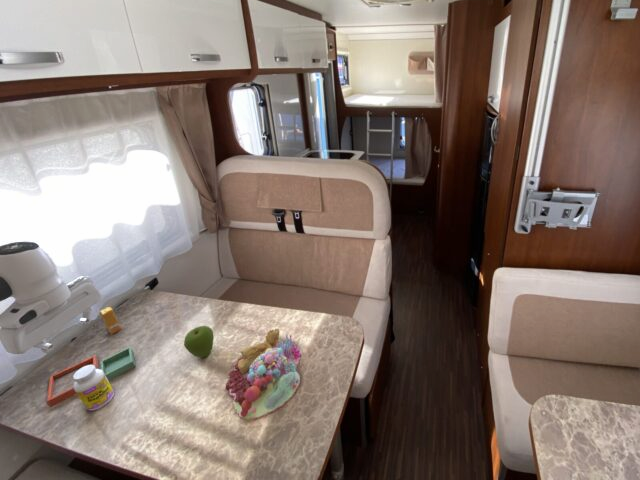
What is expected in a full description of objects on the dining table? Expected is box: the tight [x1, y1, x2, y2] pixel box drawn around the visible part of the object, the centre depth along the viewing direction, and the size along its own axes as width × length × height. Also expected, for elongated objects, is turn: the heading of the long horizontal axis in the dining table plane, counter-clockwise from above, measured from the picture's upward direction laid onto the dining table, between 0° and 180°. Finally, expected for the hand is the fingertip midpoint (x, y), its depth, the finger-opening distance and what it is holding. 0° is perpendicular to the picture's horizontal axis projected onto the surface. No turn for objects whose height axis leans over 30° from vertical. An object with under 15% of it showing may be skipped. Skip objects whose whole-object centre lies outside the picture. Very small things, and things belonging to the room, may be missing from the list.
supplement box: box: [99, 306, 122, 335], centre depth 117 cm, size 3×3×10 cm
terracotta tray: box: [46, 355, 100, 408], centre depth 99 cm, size 11×11×3 cm
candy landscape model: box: [225, 327, 302, 421], centre depth 96 cm, size 25×24×9 cm
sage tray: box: [100, 346, 136, 382], centre depth 103 cm, size 8×8×3 cm
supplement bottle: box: [72, 365, 115, 412], centre depth 91 cm, size 7×7×13 cm
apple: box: [183, 325, 214, 359], centre depth 105 cm, size 9×8×12 cm
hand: (69, 336), depth 84 cm, fingers open, 8 cm apart
